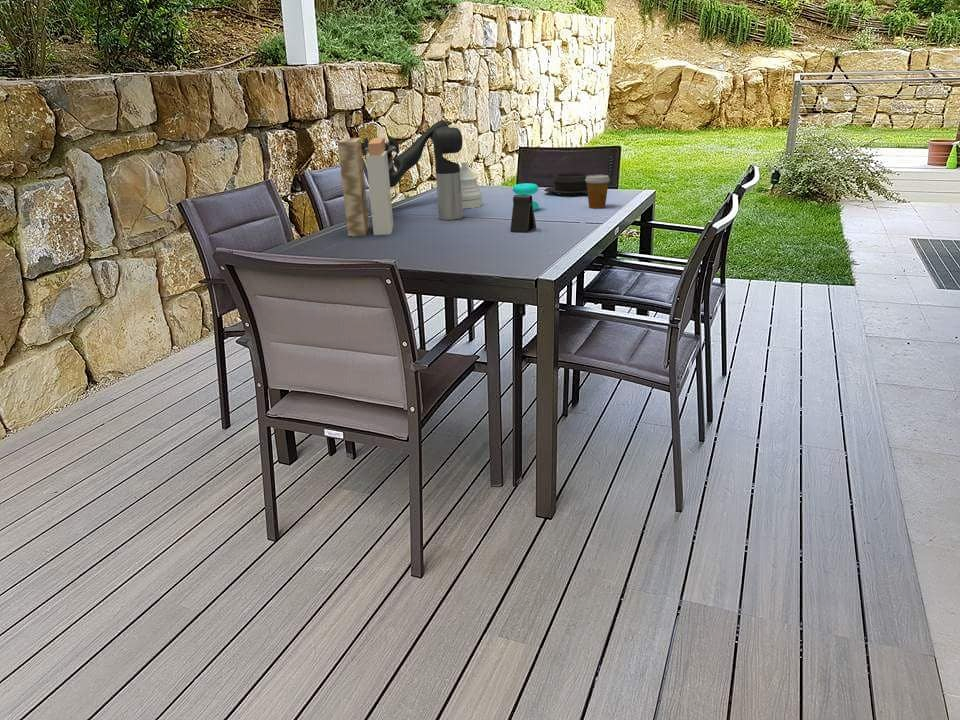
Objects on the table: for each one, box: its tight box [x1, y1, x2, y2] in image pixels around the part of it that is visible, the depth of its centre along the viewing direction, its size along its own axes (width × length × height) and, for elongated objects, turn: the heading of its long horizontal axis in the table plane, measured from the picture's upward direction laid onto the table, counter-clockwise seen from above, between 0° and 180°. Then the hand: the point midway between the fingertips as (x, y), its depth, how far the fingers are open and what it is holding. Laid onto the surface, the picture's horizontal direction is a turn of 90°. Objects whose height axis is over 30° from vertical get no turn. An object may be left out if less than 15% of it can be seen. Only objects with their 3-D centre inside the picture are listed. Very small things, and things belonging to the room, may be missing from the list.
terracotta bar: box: [368, 137, 386, 156], centre depth 264 cm, size 4×24×4 cm, turn 3°
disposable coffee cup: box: [585, 174, 611, 210], centre depth 292 cm, size 10×10×12 cm
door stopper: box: [510, 194, 537, 234], centre depth 257 cm, size 9×6×12 cm, turn 153°
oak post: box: [337, 137, 370, 237], centre depth 264 cm, size 6×16×32 cm, turn 3°
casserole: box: [543, 171, 590, 197], centre depth 326 cm, size 25×19×8 cm
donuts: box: [512, 182, 539, 212], centre depth 293 cm, size 10×10×10 cm
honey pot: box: [460, 161, 483, 210], centre depth 307 cm, size 13×13×18 cm
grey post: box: [365, 151, 394, 236], centre depth 265 cm, size 6×16×27 cm, turn 3°
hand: (378, 139), depth 272 cm, fingers open, 8 cm apart
